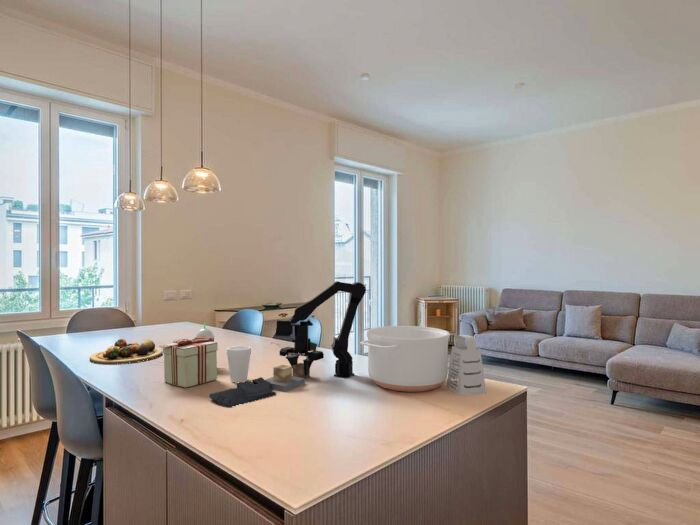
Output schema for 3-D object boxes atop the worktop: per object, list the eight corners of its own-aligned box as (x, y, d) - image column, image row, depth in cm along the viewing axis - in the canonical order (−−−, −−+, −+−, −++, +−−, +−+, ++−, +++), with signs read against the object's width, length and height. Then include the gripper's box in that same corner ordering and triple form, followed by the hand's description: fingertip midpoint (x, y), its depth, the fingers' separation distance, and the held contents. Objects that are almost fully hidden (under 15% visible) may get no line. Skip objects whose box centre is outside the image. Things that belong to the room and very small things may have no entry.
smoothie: (217, 365, 197) (217, 321, 197) (209, 369, 189) (209, 323, 189) (199, 364, 198) (199, 320, 198) (191, 369, 190) (191, 323, 190)
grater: (460, 395, 154) (460, 339, 153) (446, 387, 164) (446, 334, 164) (486, 393, 156) (486, 337, 156) (470, 385, 166) (471, 333, 166)
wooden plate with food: (93, 354, 222) (93, 338, 221) (161, 348, 235) (161, 333, 235) (85, 369, 193) (85, 351, 192) (163, 361, 206) (163, 344, 206)
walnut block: (309, 376, 178) (309, 364, 178) (302, 379, 174) (302, 366, 174) (299, 374, 181) (300, 362, 181) (292, 377, 176) (292, 365, 176)
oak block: (292, 379, 166) (292, 366, 166) (283, 382, 162) (283, 369, 162) (281, 377, 169) (281, 364, 169) (273, 380, 165) (273, 367, 165)
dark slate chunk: (202, 400, 149) (202, 386, 149) (255, 386, 165) (255, 374, 165) (227, 410, 139) (227, 395, 139) (281, 394, 155) (281, 381, 155)
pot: (408, 367, 194) (408, 322, 194) (471, 381, 172) (471, 330, 172) (340, 385, 165) (340, 332, 165) (406, 405, 143) (406, 344, 143)
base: (304, 383, 168) (304, 378, 168) (285, 391, 157) (285, 386, 157) (280, 379, 174) (280, 374, 174) (260, 386, 163) (260, 381, 163)
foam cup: (236, 385, 165) (236, 351, 165) (221, 381, 171) (221, 348, 171) (255, 379, 173) (255, 347, 173) (241, 376, 178) (241, 344, 178)
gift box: (189, 373, 183) (189, 332, 183) (220, 379, 173) (220, 336, 173) (153, 383, 168) (153, 338, 168) (184, 390, 159) (184, 343, 159)
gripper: (331, 335, 179) (330, 373, 179) (295, 331, 189) (295, 367, 189) (315, 339, 170) (315, 379, 170) (278, 335, 179) (278, 373, 179)
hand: (301, 374), depth 177 cm, fingers closed on walnut block, 5 cm apart
